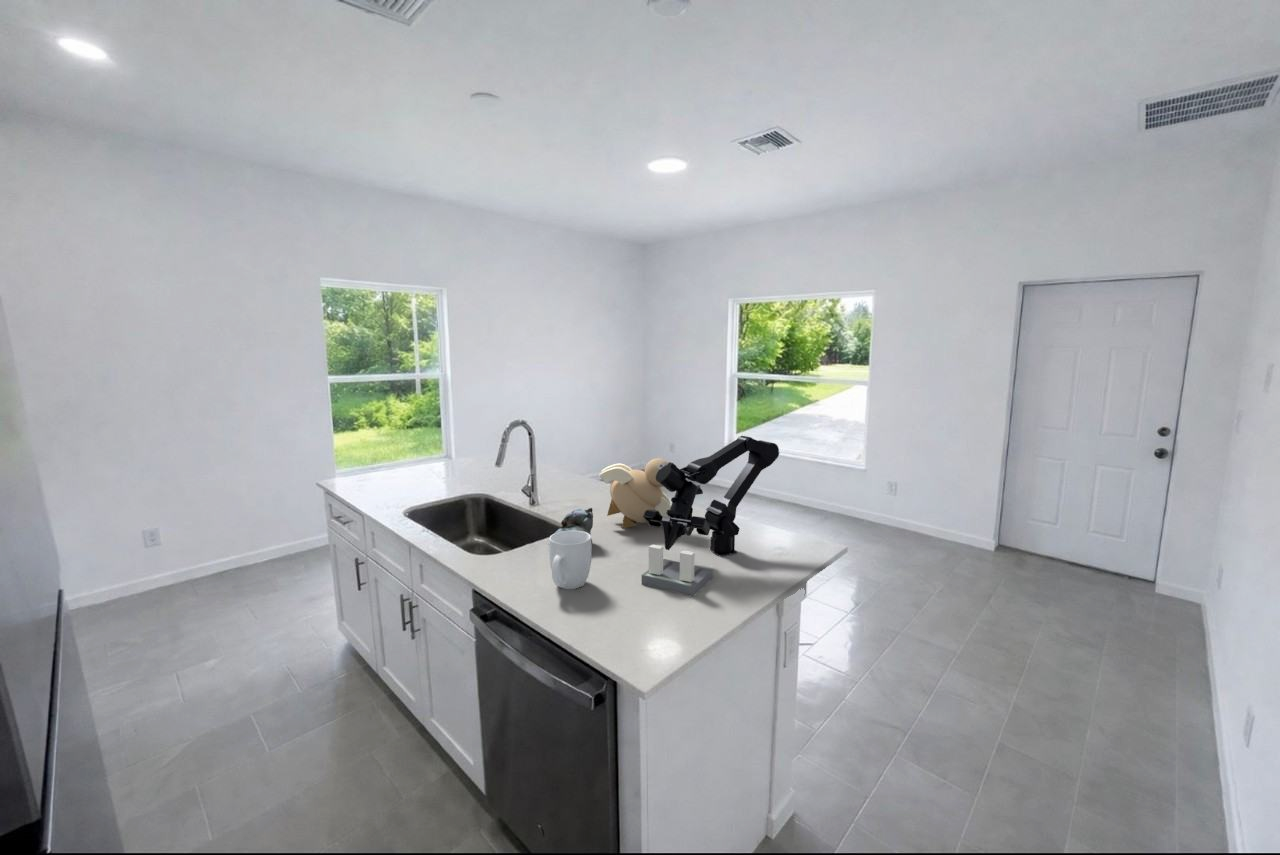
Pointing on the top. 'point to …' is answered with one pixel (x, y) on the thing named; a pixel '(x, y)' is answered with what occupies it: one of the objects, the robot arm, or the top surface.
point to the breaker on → (687, 566)
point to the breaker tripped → (656, 559)
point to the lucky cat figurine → (578, 521)
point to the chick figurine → (635, 491)
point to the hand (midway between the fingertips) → (666, 549)
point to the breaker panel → (678, 578)
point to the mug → (570, 558)
